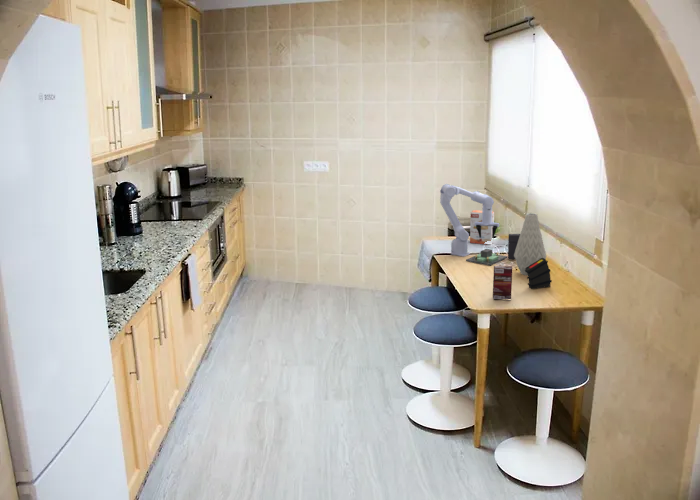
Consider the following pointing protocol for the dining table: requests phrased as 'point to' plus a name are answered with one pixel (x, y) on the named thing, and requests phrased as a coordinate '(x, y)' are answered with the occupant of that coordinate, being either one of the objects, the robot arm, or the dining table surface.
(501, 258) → the chassis plate
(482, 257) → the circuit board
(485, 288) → the dining table surface
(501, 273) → the supplement box
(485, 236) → the cracker box
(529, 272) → the magazine
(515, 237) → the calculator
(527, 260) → the vase
